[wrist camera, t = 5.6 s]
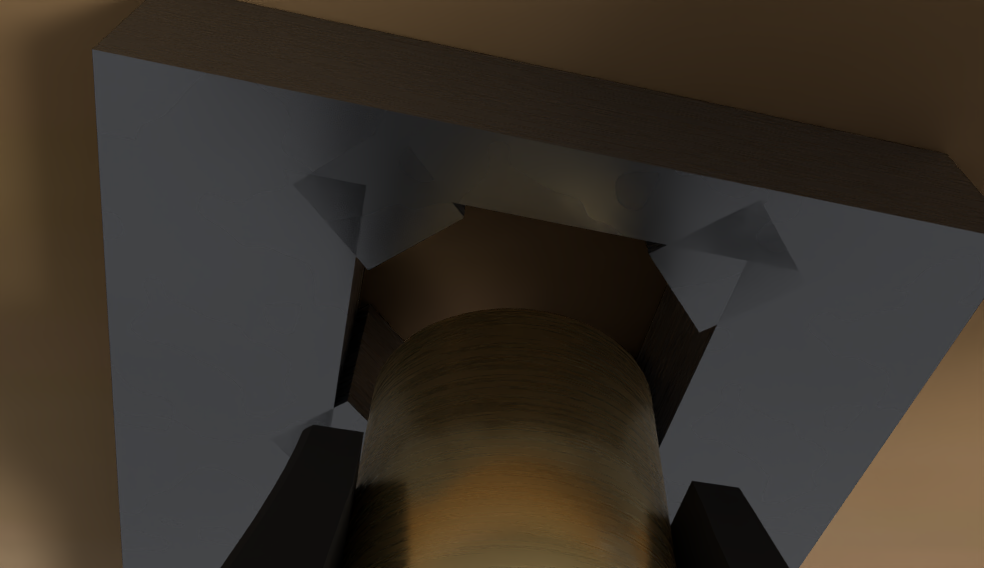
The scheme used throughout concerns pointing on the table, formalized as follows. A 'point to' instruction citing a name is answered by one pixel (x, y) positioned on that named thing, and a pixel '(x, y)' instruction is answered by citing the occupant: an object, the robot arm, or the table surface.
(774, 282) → the block
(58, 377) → the table surface
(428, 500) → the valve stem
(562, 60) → the table surface
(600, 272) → the table surface
